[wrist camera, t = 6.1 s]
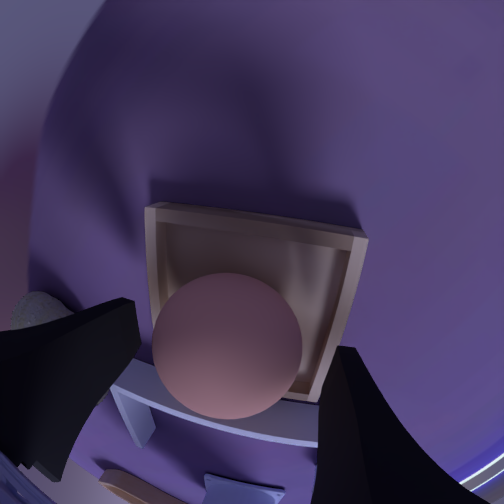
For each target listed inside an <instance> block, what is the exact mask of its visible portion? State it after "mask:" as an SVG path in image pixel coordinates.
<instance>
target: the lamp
mask: <svg viewBox="0 0 504 504" xmlns="http://www.w3.org/2000/svg"><path fill="white" fill-rule="evenodd" d="M98 482H99V483H100V484H101V485H102V486H103V487H105V488H106V489H107V490H109V491H110V492H112V493H114V494H115V495H117V496H118V497H120V498H122V499H123V500H125V501H127V502H128V503H130V504H187V503H185V502H182V501H180V500H178V499H176V498H174V497H172V496H170V495H168V494H166V493H165V492H163V491H161V490H159V489H157V488H155V487H154V486H152V485H150V484H148V483H146V482H145V481H143V480H141V479H139V478H137V477H135V476H133V475H131V474H128V473H126V472H124V471H121V470H117V469H106V470H105V472H104V473H103V475H102V476H101V478H100V479H99V481H98Z"/></svg>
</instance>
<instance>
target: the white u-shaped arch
mask: <svg viewBox="0 0 504 504" xmlns="http://www.w3.org/2000/svg"><path fill="white" fill-rule="evenodd" d="M110 390H111V393H112V395H113V398H114V400H115V402H116V405H117V407H118V409H119V412H120V414H121V416H122V418H123V420H124V422H125V424H126V427H127V429H128V431H129V433H130V435H131V437H132V439H133V440H134V442H135V444H136V446H137V447H139V448H142V449H143V448H144V447H145V445H146V444H147V442H148V440H149V439H150V437H151V435H152V434H153V432H154V430H155V429H156V426H155V423H154V420H153V417H152V414H151V411H150V408H149V406H151V407H153V408H156V409H159V410H161V411H164V412H166V413H169V414H172V415H174V416H177V417H180V418H183V419H186V420H189V421H192V422H195V423H198V424H201V425H205V426H208V427H212V428H215V429H219V430H222V431H226V432H230V433H234V434H238V435H242V436H247V437H251V438H256V439H261V440H266V441H272V442H278V443H284V444H290V445H298V446H306V447H315V448H318V412H319V405H311V404H303V403H297V402H290V401H284V400H279V401H277V402H276V403H275V404H274V405H272V406H271V407H269V408H268V409H266V410H264V411H262V412H260V413H257V414H255V415H252V416H249V417H245V418H239V419H218V418H212V417H208V416H204V415H201V414H199V413H196V412H194V411H192V410H191V409H189V408H187V407H186V406H184V405H183V404H182V403H180V402H179V401H178V400H177V399H175V398H174V397H173V396H172V395H171V393H170V392H169V391H168V390H167V388H166V387H165V386H164V384H163V383H162V381H161V379H160V377H159V375H158V373H157V370H156V367H155V366H153V365H150V364H147V363H145V362H142V361H139V360H137V359H134V358H133V359H132V360H131V362H130V364H129V365H128V366H127V367H126V369H125V370H124V371H123V372H122V374H121V375H120V376H119V377H118V379H117V380H116V381H115V382H114V383H113V385H112V386H111V387H110ZM316 470H317V465H316V466H315V475H314V482H313V490H314V485H315V479H316ZM313 490H312V492H313Z"/></svg>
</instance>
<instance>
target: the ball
mask: <svg viewBox="0 0 504 504" xmlns="http://www.w3.org/2000/svg"><path fill="white" fill-rule="evenodd" d="M152 354H153V360H154V364H155V367H156V370H157V373H158V375H159V377H160V379H161V381H162V383H163V384H164V386H165V387H166V388H167V390H168V391H169V392H170V393H171V395H172V396H173V397H174V398H175V399H177V400H178V401H179V402H180V403H182V404H183V405H184V406H186V407H187V408H189V409H191V410H192V411H194V412H196V413H199V414H201V415H204V416H208V417H212V418H218V419H239V418H245V417H249V416H252V415H255V414H257V413H260V412H262V411H264V410H266V409H268V408H269V407H271V406H272V405H274V404H275V403H276V402H277V401H279V400H280V399H281V398H282V397H283V396H284V394H285V393H286V392H287V391H288V390H289V388H290V387H291V385H292V383H293V382H294V380H295V378H296V376H297V373H298V371H299V368H300V364H301V359H302V335H301V330H300V326H299V324H298V321H297V318H296V316H295V314H294V312H293V311H292V309H291V307H290V306H289V304H288V303H287V302H286V300H285V299H284V298H283V297H282V296H281V295H280V294H279V293H278V292H276V291H275V290H274V289H273V288H271V287H270V286H268V285H267V284H265V283H264V282H262V281H260V280H258V279H255V278H252V277H250V276H246V275H242V274H236V273H216V274H210V275H206V276H202V277H199V278H197V279H195V280H193V281H191V282H189V283H187V284H185V285H184V286H182V287H181V288H180V289H178V290H177V291H176V292H175V293H174V294H173V295H172V296H171V297H170V298H169V299H168V301H167V302H166V303H165V305H164V306H163V307H162V309H161V311H160V313H159V315H158V317H157V319H156V322H155V326H154V330H153V335H152Z"/></svg>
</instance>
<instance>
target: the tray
mask: <svg viewBox="0 0 504 504" xmlns="http://www.w3.org/2000/svg"><path fill="white" fill-rule="evenodd" d="M145 241H146V260H147V274H148V286H149V297H150V306H151V315H152V323H153V330H154V326H155V322H156V319H157V317H158V315H159V313H160V311H161V309H162V307H163V306H164V305H165V303H166V302H167V301H168V299H169V298H170V297H171V296H172V295H173V294H174V293H175V292H176V291H177V290H178V289H180V288H181V287H182V286H184V285H185V284H187V283H189V282H191V281H193V280H195V279H197V278H199V277H202V276H206V275H210V274H216V273H236V274H242V275H246V276H250V277H252V278H255V279H258V280H260V281H262V282H264V283H265V284H267V285H268V286H270V287H271V288H273V289H274V290H275V291H276V292H278V293H279V294H280V295H281V296H282V297H283V298H284V299H285V300H286V302H287V303H288V304H289V306H290V307H291V309H292V311H293V312H294V314H295V316H296V318H297V321H298V324H299V326H300V330H301V335H302V359H301V364H300V368H299V371H298V373H297V376H296V378H295V380H294V382H293V383H292V385H291V387H290V388H289V390H288V391H287V392H286V393H285V394H284V396H283V398H289V399H296V400H302V401H309V402H317V401H318V399H319V396H320V394H321V388H322V385H323V382H324V380H325V377H326V375H327V372H328V369H329V367H330V364H331V361H332V359H333V356H334V353H335V350H336V347H337V345H338V346H339V344H340V341H341V338H342V335H343V332H344V329H345V326H346V323H347V320H348V316H349V313H350V310H351V307H352V303H353V300H354V296H355V293H356V289H357V285H358V282H359V278H360V274H361V270H362V266H363V262H364V258H365V254H366V249H367V245H368V241H369V239H368V237H367V235H366V234H365V232H364V231H363V230H362V229H357V228H351V227H345V226H339V225H334V224H328V223H322V222H315V221H309V220H303V219H296V218H290V217H283V216H276V215H269V214H262V213H255V212H248V211H240V210H232V209H224V208H216V207H208V206H199V205H190V204H181V203H171V202H158V203H155V204H152V205H149V206H146V207H145Z"/></svg>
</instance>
